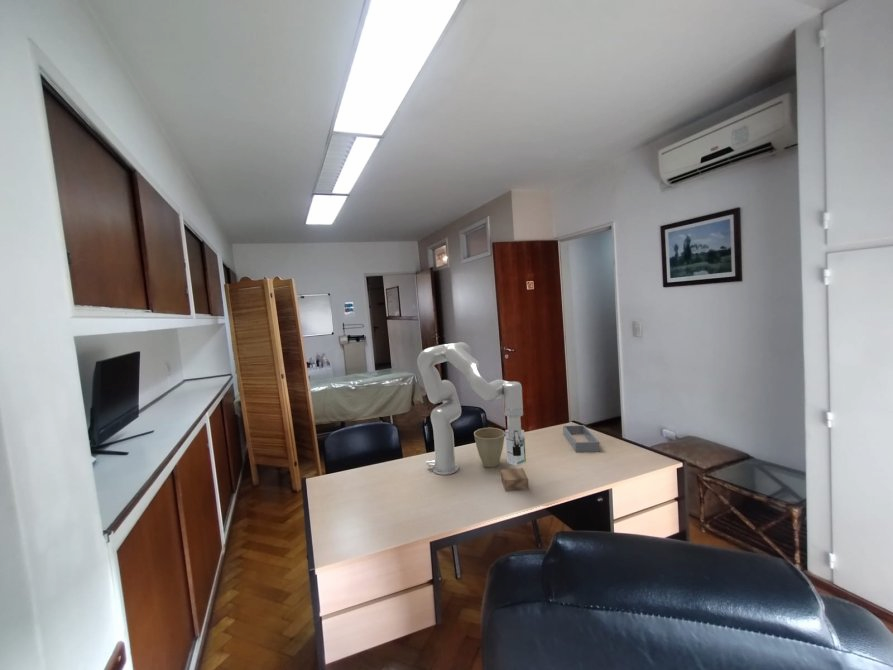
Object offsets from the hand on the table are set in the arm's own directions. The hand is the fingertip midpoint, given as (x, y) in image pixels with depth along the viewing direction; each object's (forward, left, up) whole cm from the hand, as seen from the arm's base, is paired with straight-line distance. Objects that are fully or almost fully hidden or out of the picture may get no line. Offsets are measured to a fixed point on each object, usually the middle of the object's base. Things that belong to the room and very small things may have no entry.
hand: (515, 451), depth 161 cm
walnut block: (-1, +2, -16) cm, 16 cm away
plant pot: (-10, +23, -16) cm, 30 cm away
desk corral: (+40, +47, -16) cm, 64 cm away
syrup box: (0, 0, -5) cm, 5 cm away
